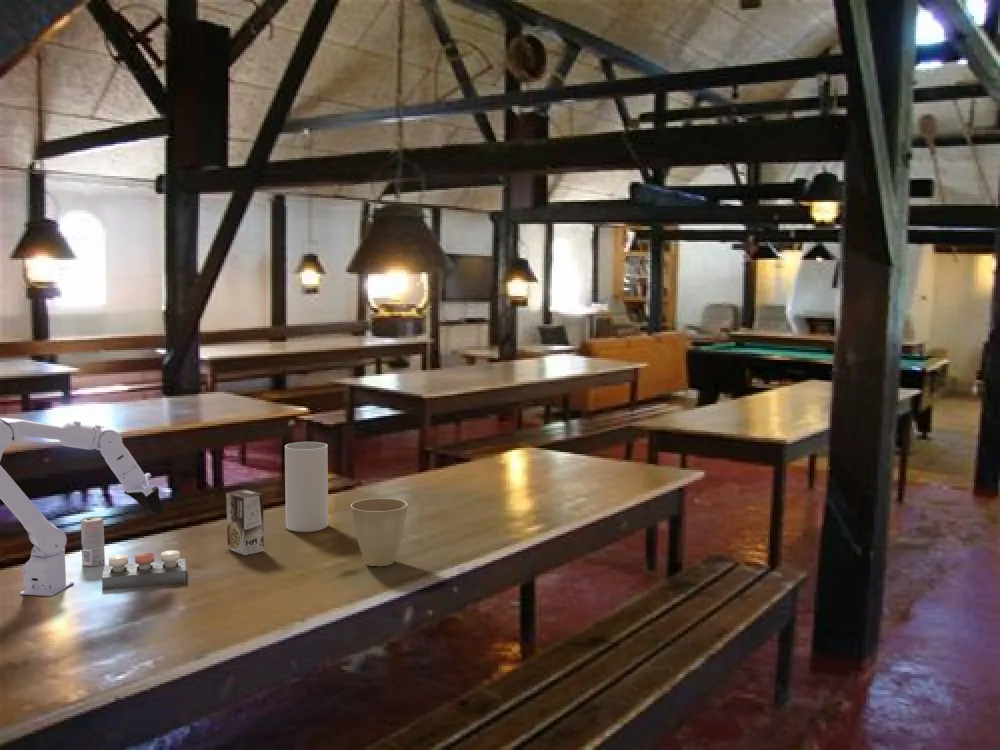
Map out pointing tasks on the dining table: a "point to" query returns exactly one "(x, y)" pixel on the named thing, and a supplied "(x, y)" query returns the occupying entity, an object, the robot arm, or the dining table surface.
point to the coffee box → (245, 522)
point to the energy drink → (92, 541)
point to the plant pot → (379, 528)
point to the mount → (143, 575)
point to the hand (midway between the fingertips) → (155, 510)
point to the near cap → (118, 562)
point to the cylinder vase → (306, 486)
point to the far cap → (170, 558)
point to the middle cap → (144, 560)
